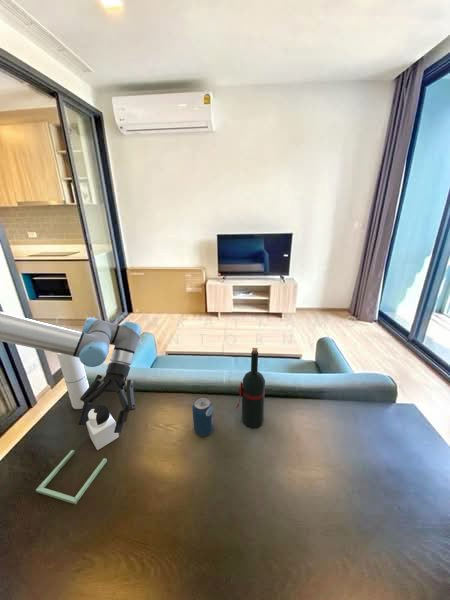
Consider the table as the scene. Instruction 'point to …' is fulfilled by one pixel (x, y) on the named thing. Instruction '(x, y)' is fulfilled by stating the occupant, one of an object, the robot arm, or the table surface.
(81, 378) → the cylindrical container
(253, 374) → the wine bottle
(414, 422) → the table surface
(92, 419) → the medicine bottle
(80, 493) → the frame
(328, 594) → the table surface
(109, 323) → the robot arm
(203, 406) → the soda can
